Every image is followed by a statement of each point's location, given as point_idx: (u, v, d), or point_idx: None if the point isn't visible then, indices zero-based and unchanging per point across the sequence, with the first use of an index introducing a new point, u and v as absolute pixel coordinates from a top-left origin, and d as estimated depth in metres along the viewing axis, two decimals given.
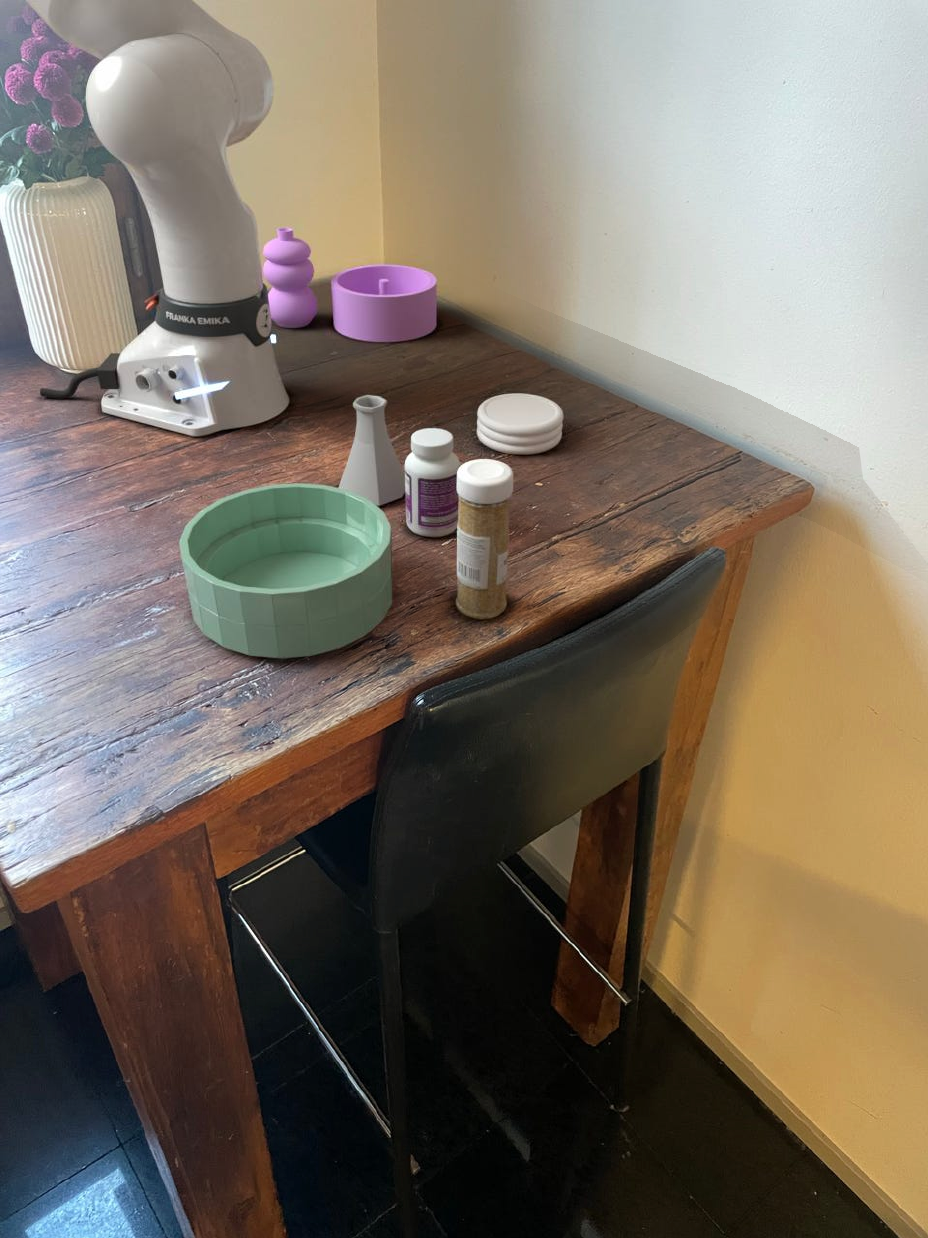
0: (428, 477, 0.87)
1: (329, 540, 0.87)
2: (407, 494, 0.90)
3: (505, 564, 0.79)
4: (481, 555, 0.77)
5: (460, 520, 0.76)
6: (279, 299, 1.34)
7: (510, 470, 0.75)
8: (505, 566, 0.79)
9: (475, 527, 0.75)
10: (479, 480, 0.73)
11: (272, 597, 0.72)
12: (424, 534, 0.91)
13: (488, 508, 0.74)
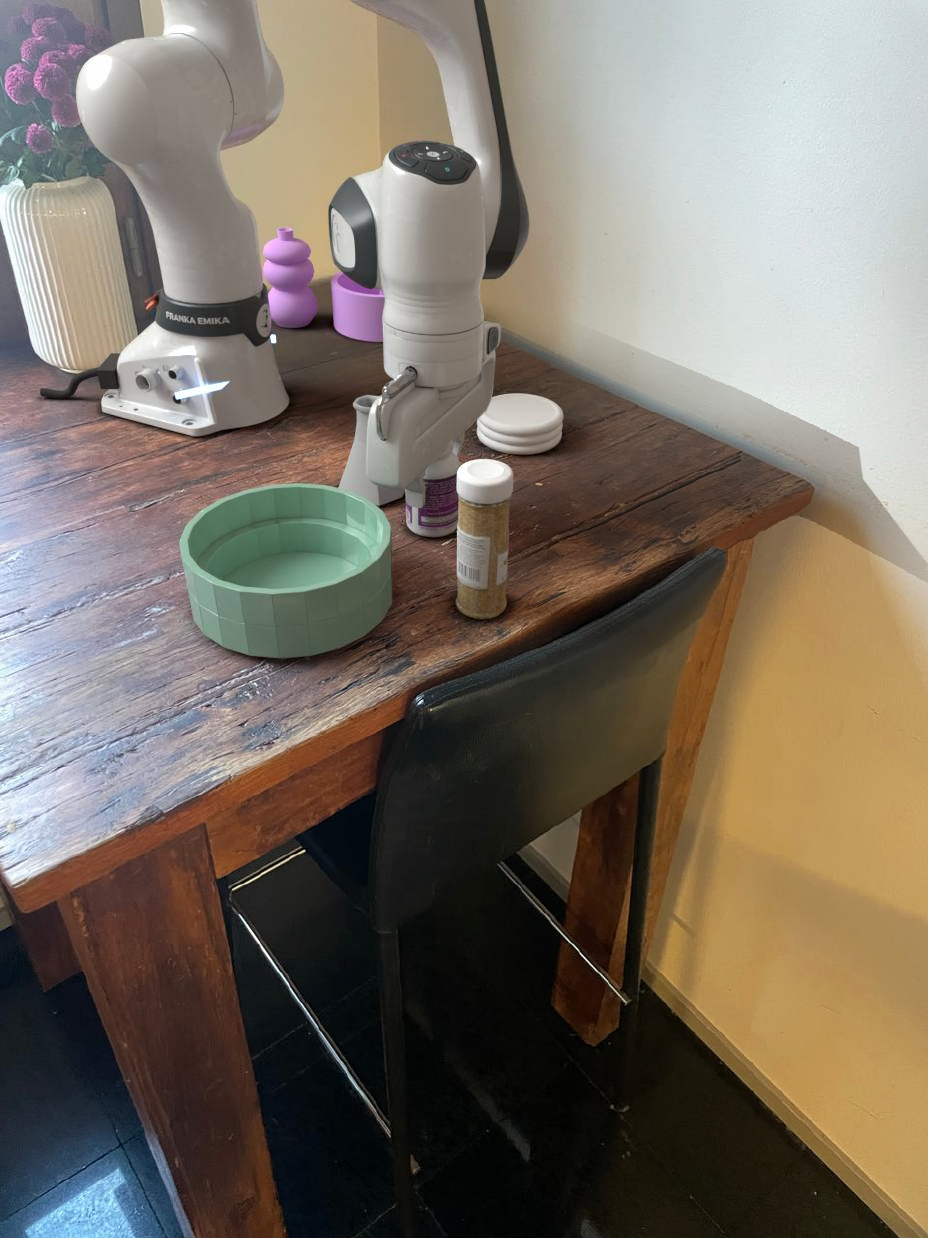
0: (428, 477, 0.87)
1: (329, 540, 0.87)
2: None
3: (505, 564, 0.79)
4: (481, 555, 0.77)
5: (460, 520, 0.76)
6: (279, 299, 1.34)
7: (510, 470, 0.75)
8: (505, 566, 0.79)
9: (475, 527, 0.75)
10: (478, 480, 0.73)
11: (272, 597, 0.72)
12: (424, 534, 0.91)
13: (488, 508, 0.74)
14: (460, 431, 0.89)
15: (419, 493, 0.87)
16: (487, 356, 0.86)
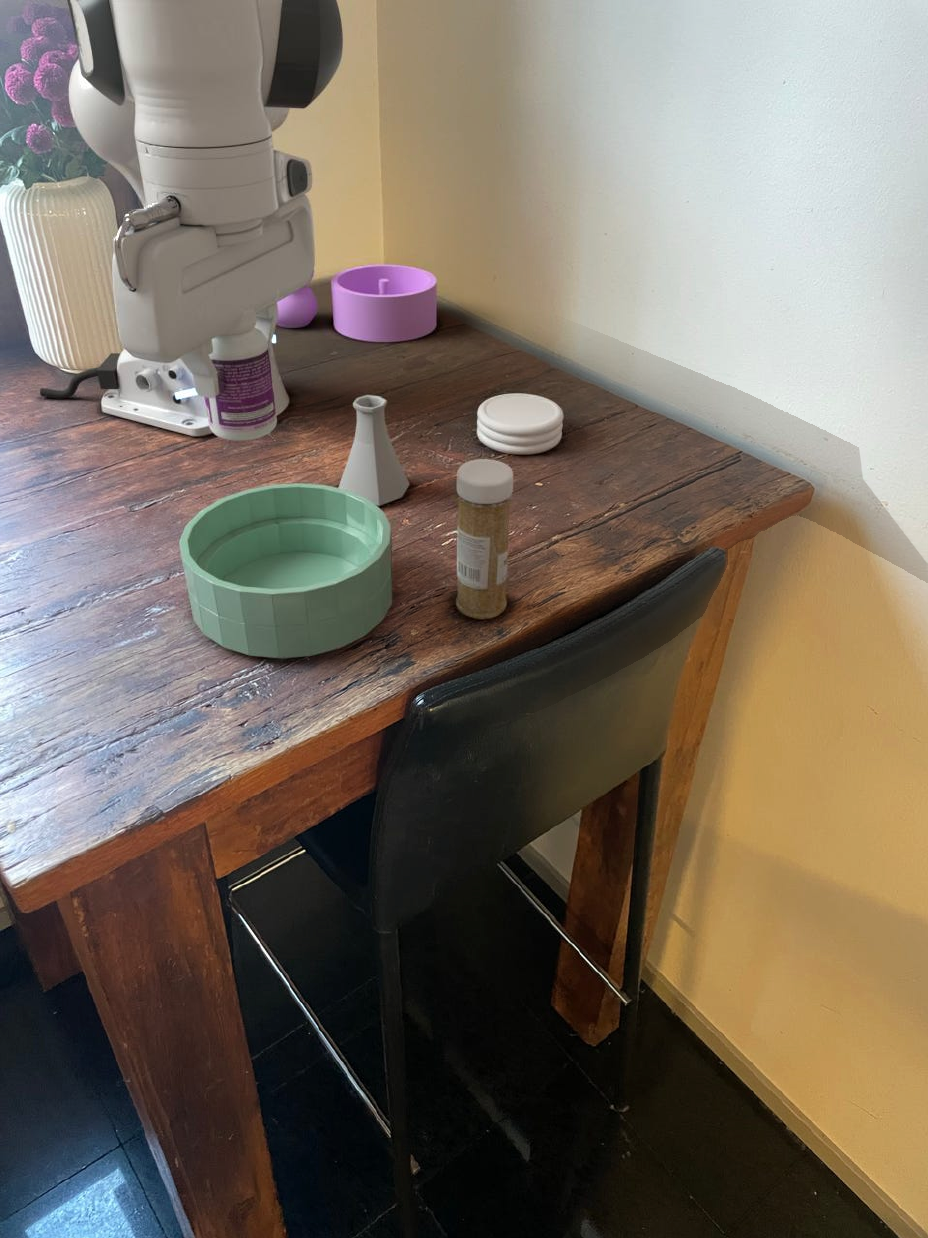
0: (222, 358, 0.68)
1: (329, 540, 0.87)
2: None
3: (505, 564, 0.79)
4: (481, 555, 0.77)
5: (460, 520, 0.76)
6: None
7: (510, 470, 0.75)
8: (505, 566, 0.79)
9: (475, 527, 0.75)
10: (478, 480, 0.73)
11: (272, 597, 0.72)
12: (228, 436, 0.72)
13: (488, 508, 0.74)
14: (265, 300, 0.70)
15: (208, 377, 0.67)
16: (290, 198, 0.67)
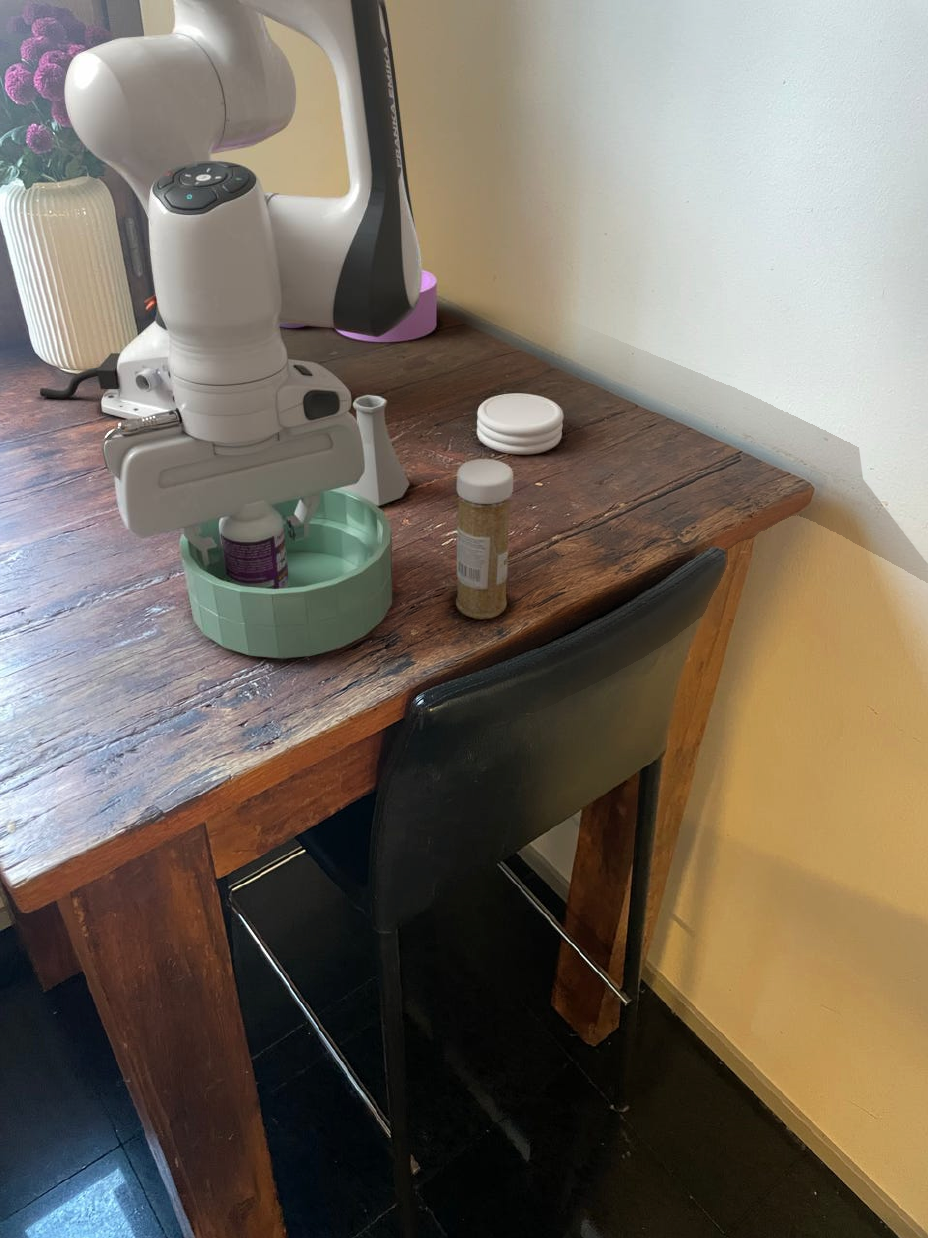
0: (224, 535, 0.77)
1: (329, 540, 0.87)
2: None
3: (505, 564, 0.79)
4: (481, 555, 0.77)
5: (460, 520, 0.76)
6: None
7: (510, 470, 0.75)
8: (505, 566, 0.79)
9: (475, 527, 0.75)
10: (478, 480, 0.73)
11: (272, 597, 0.72)
12: None
13: (488, 508, 0.74)
14: (281, 496, 0.77)
15: (199, 550, 0.77)
16: (306, 421, 0.73)
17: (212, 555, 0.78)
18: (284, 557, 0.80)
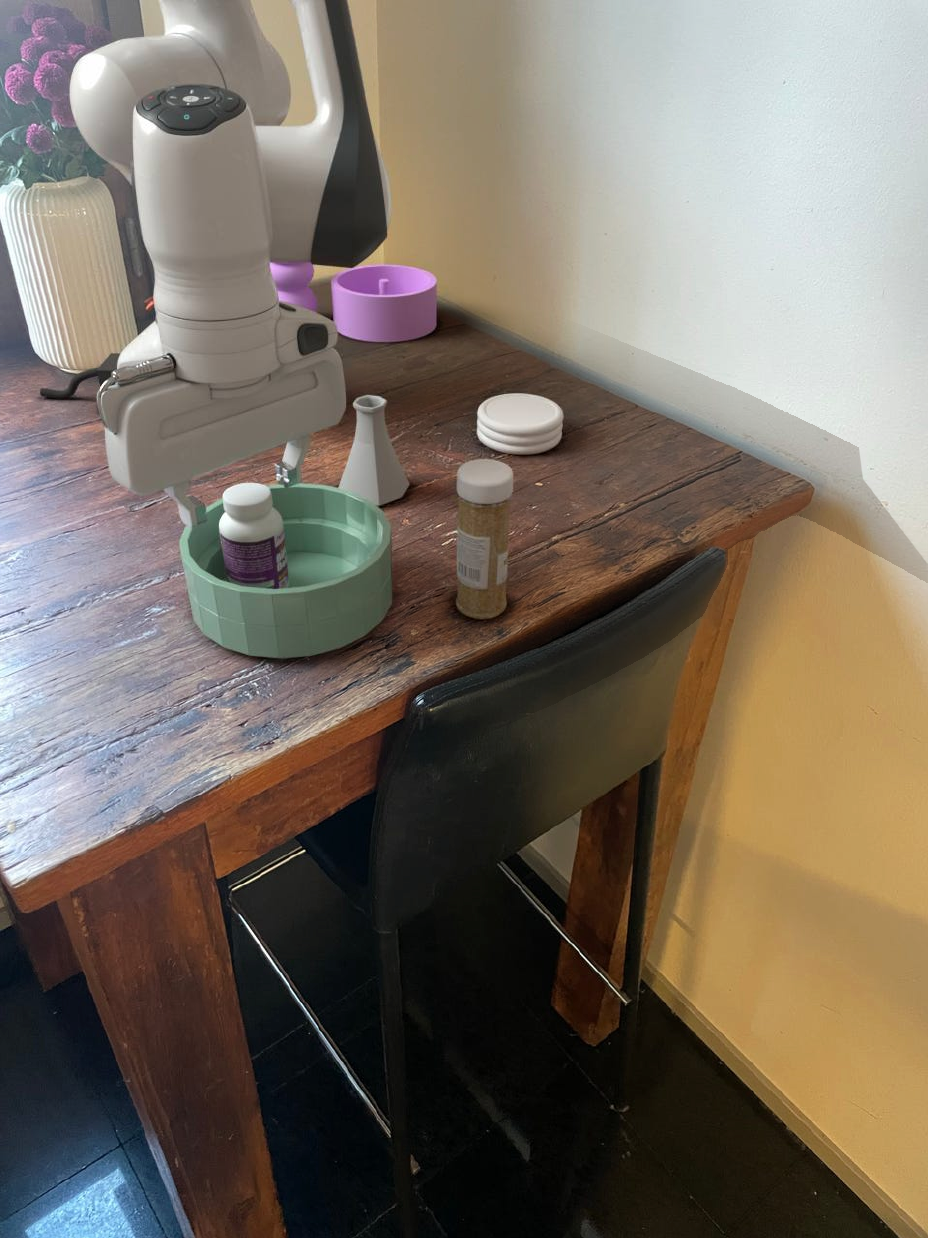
0: (224, 535, 0.77)
1: (329, 540, 0.87)
2: None
3: (505, 564, 0.79)
4: (481, 555, 0.77)
5: (460, 520, 0.76)
6: (280, 299, 1.34)
7: (510, 470, 0.75)
8: (505, 566, 0.79)
9: (475, 527, 0.75)
10: (479, 480, 0.73)
11: (272, 597, 0.72)
12: None
13: (488, 508, 0.74)
14: (272, 441, 0.75)
15: (186, 510, 0.73)
16: (300, 357, 0.71)
17: (200, 514, 0.74)
18: (284, 557, 0.80)
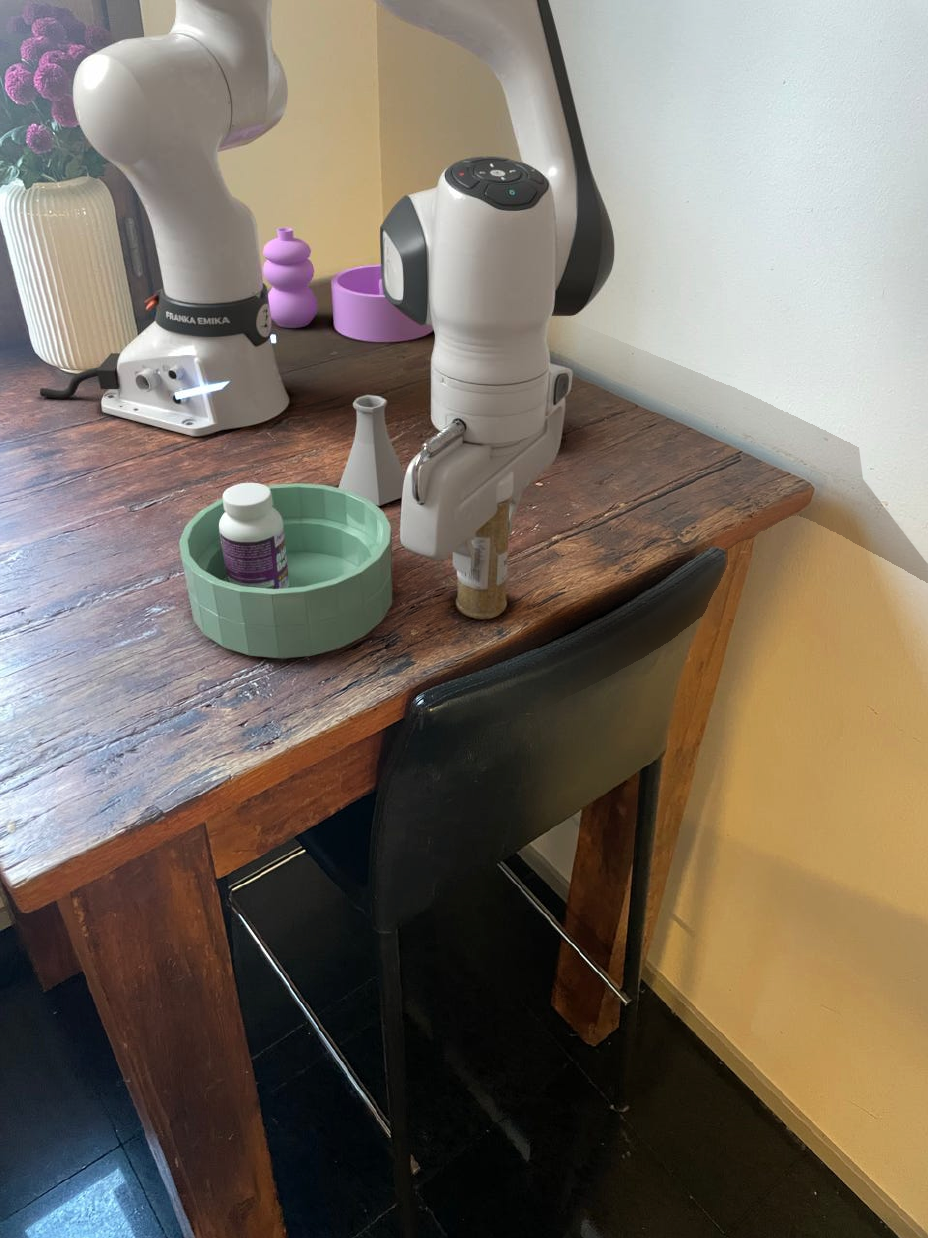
0: (224, 535, 0.77)
1: (329, 540, 0.87)
2: None
3: (505, 564, 0.79)
4: (481, 555, 0.77)
5: None
6: (280, 299, 1.34)
7: None
8: (505, 566, 0.79)
9: None
10: None
11: (272, 597, 0.72)
12: None
13: None
14: (518, 490, 0.77)
15: (467, 557, 0.76)
16: (553, 407, 0.74)
17: (476, 559, 0.76)
18: (284, 557, 0.80)
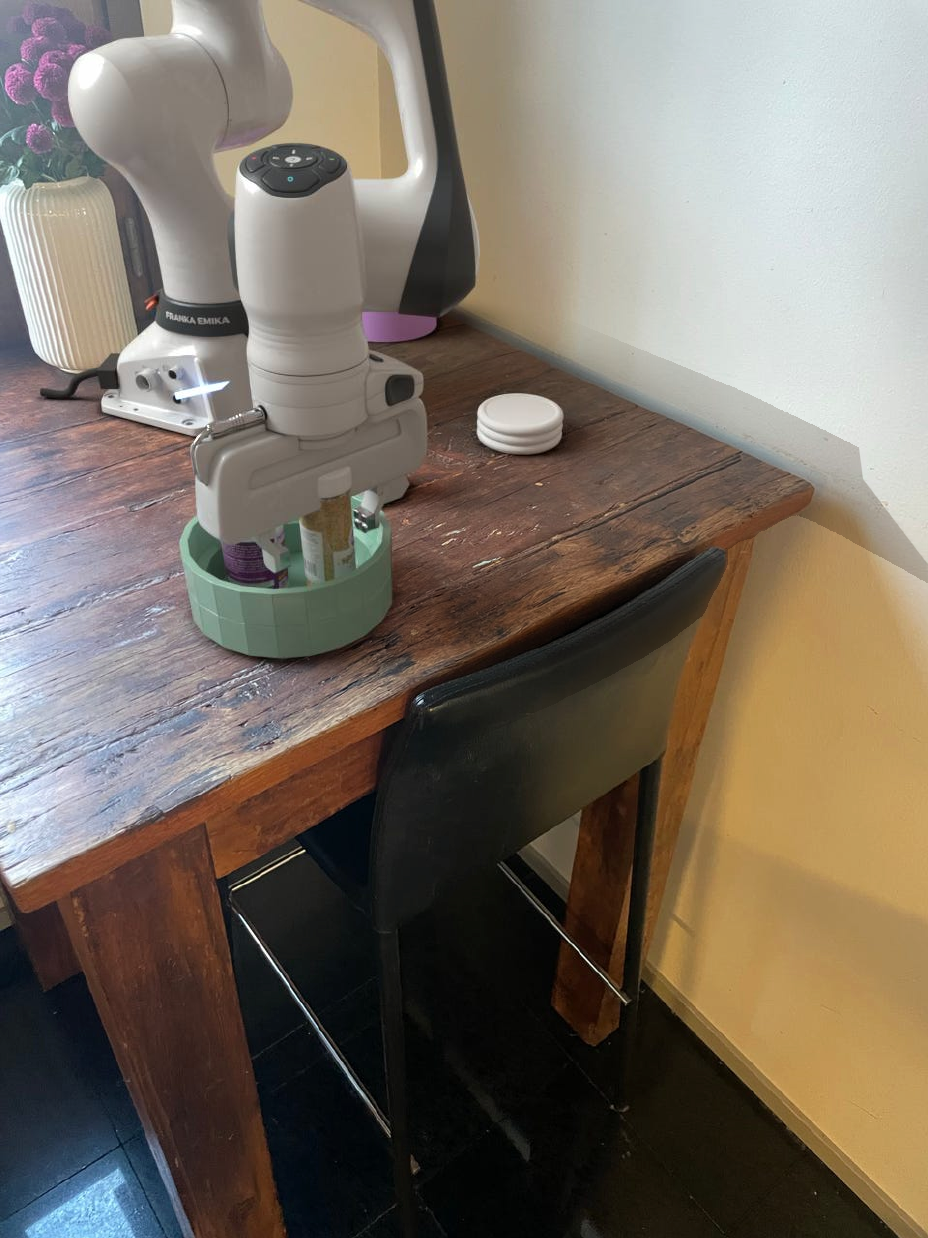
0: None
1: None
2: None
3: (345, 563, 0.77)
4: (315, 549, 0.76)
5: None
6: None
7: (346, 467, 0.73)
8: (346, 565, 0.77)
9: (307, 520, 0.75)
10: None
11: (272, 597, 0.72)
12: None
13: None
14: (355, 489, 0.75)
15: (271, 556, 0.74)
16: (387, 408, 0.71)
17: (284, 560, 0.75)
18: None
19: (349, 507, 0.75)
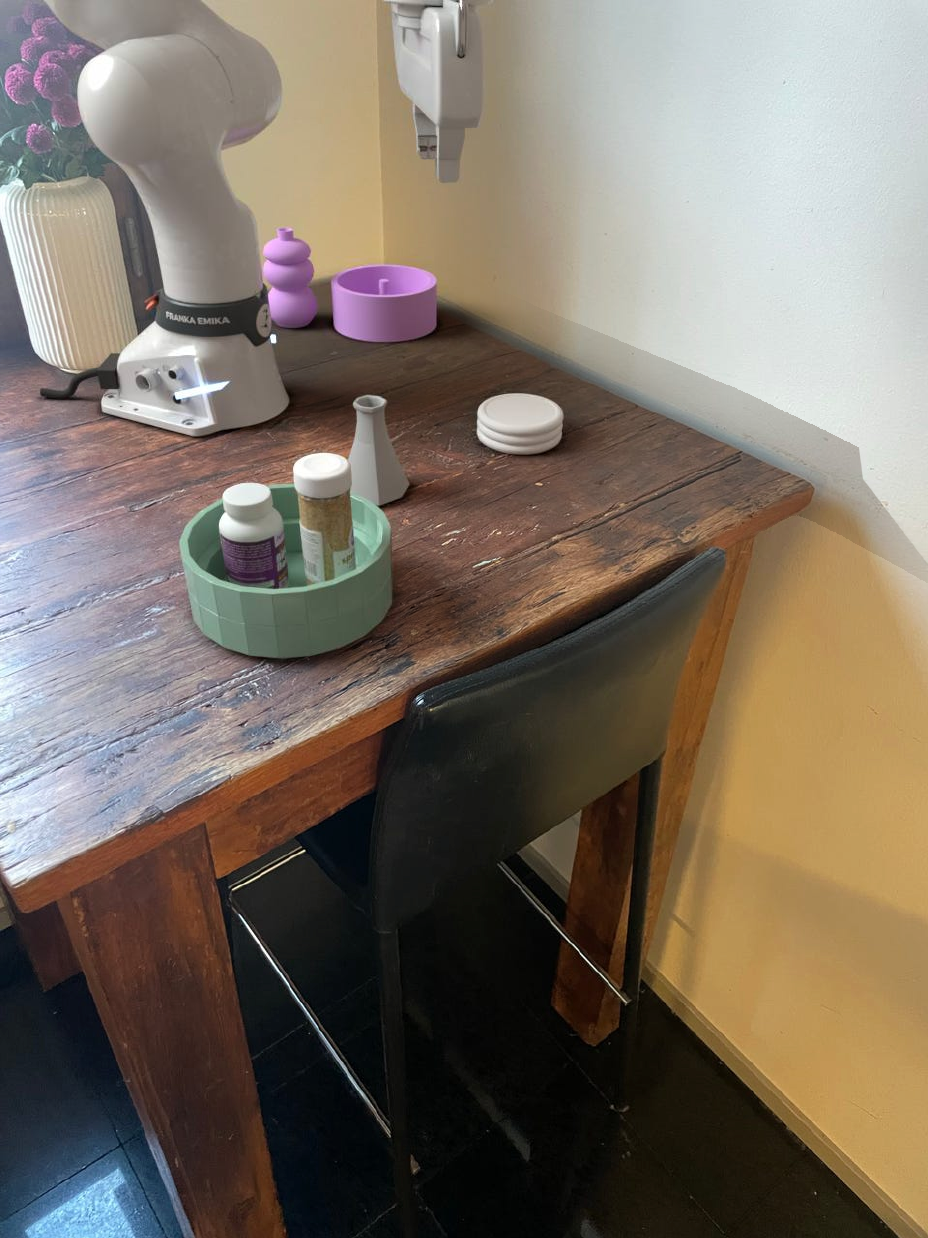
0: (224, 535, 0.77)
1: None
2: None
3: (345, 563, 0.77)
4: (315, 549, 0.76)
5: (299, 511, 0.76)
6: (280, 299, 1.34)
7: (346, 467, 0.73)
8: (346, 565, 0.77)
9: (307, 520, 0.75)
10: (306, 472, 0.72)
11: (272, 597, 0.72)
12: None
13: (315, 502, 0.73)
14: None
15: (456, 160, 0.76)
16: None
17: None
18: (284, 557, 0.80)
19: (349, 507, 0.75)
